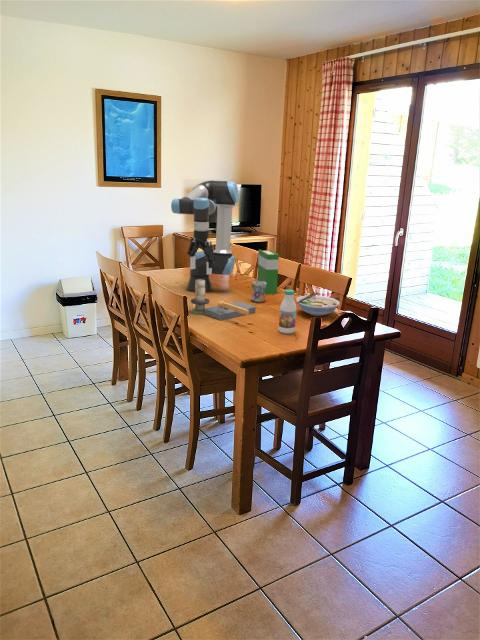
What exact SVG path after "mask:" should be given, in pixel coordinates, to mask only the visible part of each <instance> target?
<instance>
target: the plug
mask: <svg viewBox="0 0 480 640" xmlns="http://www.w3.org/2000/svg"><path fill="white" fill-rule="evenodd" d="M194 293H195V294H194V295H195V296H194V297H193V298H192V299H191V300H190V304H193V305H195V306H194V308H195V311H197V312H203V311H204V309H205V308H206V306H205V305H208V304H209V303H210V299H209V298H206V292H205V280H201V279H199V280H195V292H194Z"/></svg>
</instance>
